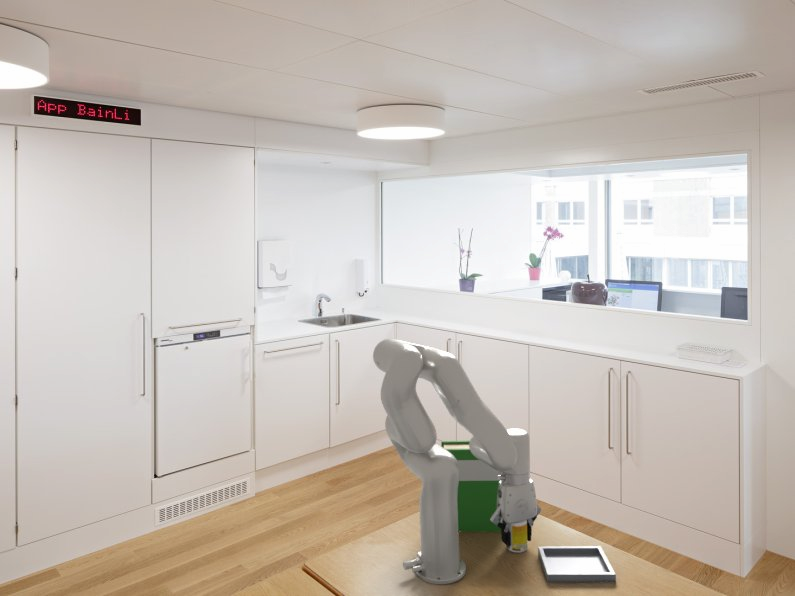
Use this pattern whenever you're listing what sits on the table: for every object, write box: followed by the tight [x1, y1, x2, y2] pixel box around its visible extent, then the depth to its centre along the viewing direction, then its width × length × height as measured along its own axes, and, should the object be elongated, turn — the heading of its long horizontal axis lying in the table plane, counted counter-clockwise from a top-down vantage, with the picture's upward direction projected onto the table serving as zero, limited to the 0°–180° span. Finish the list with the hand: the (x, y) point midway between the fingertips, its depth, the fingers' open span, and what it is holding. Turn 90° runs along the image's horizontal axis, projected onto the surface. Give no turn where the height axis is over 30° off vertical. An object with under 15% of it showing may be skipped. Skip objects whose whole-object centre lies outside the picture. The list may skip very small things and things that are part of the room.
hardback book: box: [440, 440, 506, 533], centre depth 170 cm, size 18×7×24 cm, turn 86°
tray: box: [537, 545, 617, 583], centre depth 148 cm, size 16×13×2 cm
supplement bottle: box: [505, 520, 528, 554], centre depth 157 cm, size 6×6×10 cm
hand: (516, 540), depth 158 cm, fingers closed on supplement bottle, 5 cm apart
